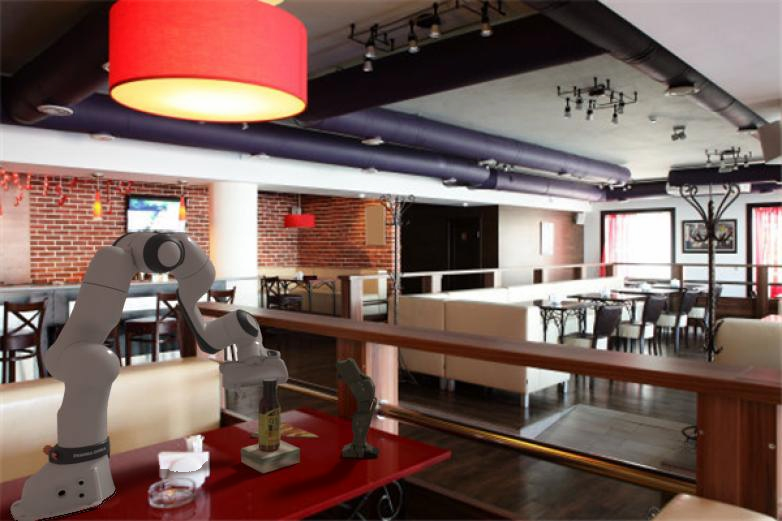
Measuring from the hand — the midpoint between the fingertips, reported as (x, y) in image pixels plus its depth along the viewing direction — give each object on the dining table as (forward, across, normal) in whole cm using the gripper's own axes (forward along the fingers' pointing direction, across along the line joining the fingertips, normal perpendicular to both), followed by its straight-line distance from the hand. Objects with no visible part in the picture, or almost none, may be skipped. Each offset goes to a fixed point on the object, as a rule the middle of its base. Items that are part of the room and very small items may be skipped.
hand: (258, 396), depth 178 cm
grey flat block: (+20, +1, +3) cm, 20 cm away
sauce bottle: (+17, 0, 0) cm, 17 cm away
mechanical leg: (+24, +26, -1) cm, 35 cm away
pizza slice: (+4, +9, +20) cm, 22 cm away
